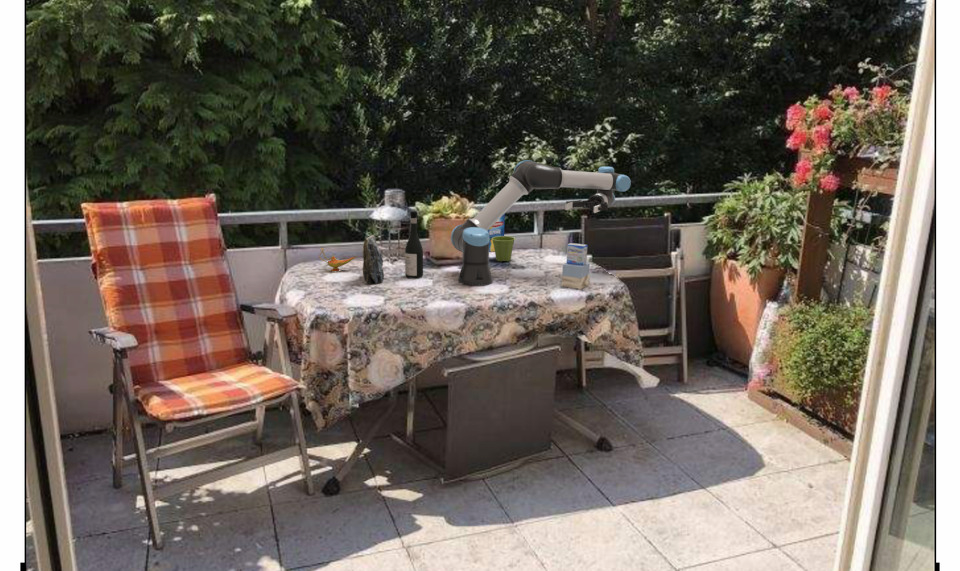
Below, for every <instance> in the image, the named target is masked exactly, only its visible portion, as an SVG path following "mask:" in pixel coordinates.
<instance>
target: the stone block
mask: <svg viewBox="0 0 960 571" xmlns="http://www.w3.org/2000/svg"><path fill="white" fill-rule="evenodd" d="M376 239H377V238H376V237H375V235H374V234H371V235H370V236H368V237H365V240H364V241H363V246H362V258H363V262H362V276H363V278H364V282H365V285H376V284H379V283H383V281H384V278H385V273H384V269H383V265H384V259H383V257H382V252H381V249H380V248H379V245H378V243H377V240H376Z"/></svg>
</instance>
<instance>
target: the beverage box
mask: <svg viewBox="0 0 960 571" xmlns="http://www.w3.org/2000/svg"><path fill="white" fill-rule="evenodd" d="M505 216H506V212H505V213H504V214H503V215H502V216H501V217H500V218H499V219H498V220H497V221H496V223H495V224H494V225H493V226H492V227H491V228H490V229H489V230H488V233H489V238H490V241H489V253H492V252H494V253H495V249H494V244H493V240H492V238H493V237H498V236H505V221H506V220H505Z"/></svg>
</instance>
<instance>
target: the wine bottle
mask: <svg viewBox="0 0 960 571" xmlns="http://www.w3.org/2000/svg"><path fill="white" fill-rule="evenodd" d="M409 215H410V234H409V237H408V241H407V242H406V246H405V250H404V264H405V265H404V268H405V269H404V273H405V276H406V277H407V278H408V279H409V278H410V279H419V278H422V277H423V276H424V250H423V246H422V243H421V240H420V238H419V235H418V221H417V220H418V218H417V217H418V211H417V210H411V211H410V212H409Z"/></svg>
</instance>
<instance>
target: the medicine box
mask: <svg viewBox="0 0 960 571" xmlns="http://www.w3.org/2000/svg"><path fill="white" fill-rule="evenodd" d="M566 245H567V249H566V263H567V264H574V265H585V264H586V263H588V261H587V260H588V244H583V243H575V242H570V243H568V244H566Z"/></svg>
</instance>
